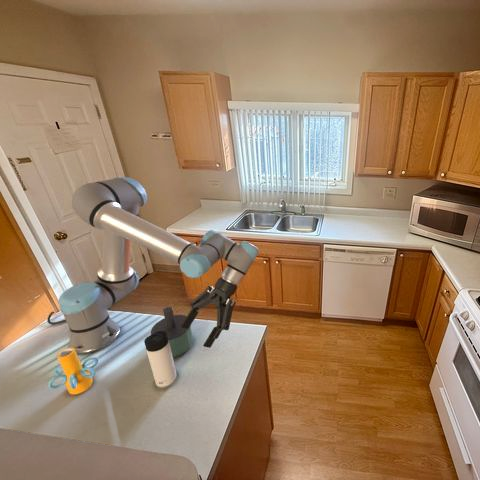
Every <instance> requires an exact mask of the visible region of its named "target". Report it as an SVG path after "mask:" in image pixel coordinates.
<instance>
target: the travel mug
mask: <svg viewBox="0 0 480 480" xmlns="http://www.w3.org/2000/svg"><path fill="white" fill-rule="evenodd" d="M143 343H144V346H145V350H146V354H147V357H148V361H149V365H150V368H151V372H152V375H153V376H152V377H153V379H154V382H155V385H156V387H157V388H159V389H162V388H163V389H164V388H168V387H170V386H171V385H173V384H174V383H175V382H176V380H177V377H178V374H177V369H176V366H175V361H174V357H173V356H172V352H171V348H170V344H169V340H168V336H167V333H166V332H165V331H158V332H155V333H154V334H151V333H150V335H148V336H146V338H145V339H144V340H143Z"/></svg>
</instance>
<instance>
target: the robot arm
mask: <svg viewBox="0 0 480 480" xmlns="http://www.w3.org/2000/svg"><path fill="white" fill-rule="evenodd" d="M147 201H148V195H147V192H146V190H145V188H144V187H143V185H142V184H141V183H140V182H138V181H137V180H136V179H134V178H131V177H127V176H123V177H114V178H111V179H105V180H99V181H95V182H88V183H85V184H82V185H81V186H79V187H78V188H77V189H75V191H74V192H73V194H72V197H71V206H72V209H73V211H74V213H75V214H76V215H77V217H78V218H80V219H81V221H83V222H85V223H86V224H88V225H89V226H91V227H93V228H95V229H97V230H101V231H103V233H102V235H103V236H102V237H103V238H102V239H103V240H102V241H103V242H102V266H101V267H100V268H99V269H98V270H97V274H96V275H97V279H96V280H95V281H84V282H81V283H79V284H75V285H73V286H71V287H69V288H67V289H66V290H64V291H63V292H61V295H60V296H59V298H58V304H59V310H60V312H61V313H62V315H63V317H64V319H63V320H60V321H55V322H52V321H51V317H52V315H53V314H55V311H51V312H50V313H49V315H48V316H47V323H48V324H49V325H59V324H62V323H65V322H66V324H67V326H68V328H69V331H70V334H69V343H68V344H69V348H74V349H75V351H76V353H77V355H87V354H91V353H95V352H98V351H101V350H103V349H105V348H106V347H109V346H110V345H111V344H112V343H114V342H115V341H116V340H117V339H118V338H119V337H120V335H121V329H120V326H119V325H118V323H117V322H116V321H115V320H114V319H112V317H110V314H109V311H108V309H109V308H111V307H112V306H114V305H115V304H117V303H118V302H119V301H121V300H122V299H124V298H125V297H126V296H128V295H130V294H131V293H133V292H134V291H135V290H136V289H137V288H138V286H139V284H140V277H139V274H137V272H136V270H135V269H134V268H132V266H131V265H130V264H131V249H132V242H133V243H134V244H136V245H139V246H140V247H143V248H145V249H147V250H149V251H152V252H154V253H156V254H158V255H160V256H162V257H164V258H166V259H168V260H170V261H172V262H175V263H177V264H179V269H180V271H181V272H182V273H183V274H184V276H186V277H188V278H191V279H197V278H200V277H201V276H203V275H205V274H206V273H207V272H209V270H210V269H211V268H212V267H213V266H214V265H215V264H216V263H217V262H218V261H219V260H221V259H222V260H224V261H226V262H228V263H227V264H226V265H225V268H224V269H223V271H222V272H221V274H220V277H218V279H217V280H216V282H215V283H214V286H211V285H208V286H207V287H206V288H205V289H204V290H203V291H202V292H201V293H200V294H199V295H197V297H195V298H194V299H193V300H191V301H190V302H189V306H190V308H191V309H190V310H189V312H188V314H187V315H186V316H187V318H186V320H185V321H184V323H183V324H182V326H181V327H182V328H187V329H189V327H190V325H191V326H192V324H193V322H194V321H195V319H196V318H197V316H198V315H199V313H200V310H201V309H203V308H205V307H207V306H209V305H210V304H213V305H214V306H215V307H216V309H217V311H216V326H213V328H212V329H211V331H210V333H209V335H208V337H207V339H206V340H205V342H204V343H203V345H202V346H203V347H204V348H210V349H211V347H212V346H213V344H214V343H215V341H216V340H218V338H219V337H220V335H221V334H222V331H229V330H230V325H231V322H232V321H231V320H232V317H233V316H232V315H233V311H234V307H235V305H236V304H237V302H236V300H234V299H231V297H232V296H234V295H235V294H236V292H237V290H238V288H239V287H238V286H239V285H241V283H242V282H243V280H244V278H245V276H246V275H247V273H248V272H249V270H250V269H251V267H252V265H253V263H254V262H255V260H256V258H257V257H258V255H259V252H260V250H259V248H258V247H257V246H256V245H254V244H252V243H250V242H248V241H246V240H242V241H241V242H240V243H239V242H236V241H234V240H233V239H231V238H229V237H227V236H226V235H224V234H222V233H220V232H218V231H216V230H213V229H210V230H208V231H207V232H206V233H205V234H204V235H203V236H202V237H201V240H200V243H199V244H200V245H199V246H198V245H196V244H195V243H192V242H190V241H188V240H186V239H184V238H182V237H179V236H178V235H176V234H174V233H172V232H170V231H168V230H166V229H164V228H162V227H160V226H157V224H153V223H152V222H150V221H147V220H145V219H143V218H141V217H139V214H140V213H139V211H140V208H141V207H144V205H145V204H146V203H147Z"/></svg>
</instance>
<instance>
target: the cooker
mask: <svg viewBox="0 0 480 480" xmlns="http://www.w3.org/2000/svg"><path fill="white" fill-rule="evenodd" d="M191 326H192V325H191ZM191 326H190V328H189V329H188V331H187V332H186V333H184V334H183V335H181V336H180V337H177V338H175V339H172V340H169V344H170V348H171V352H172V356H173V358H177V357H179V356H181V355H183V354H185V353H186V352H188V351H189V350H190V349H191V347H192V346H193V344H194V337H193V336H194V335H193V330H192V327H191Z"/></svg>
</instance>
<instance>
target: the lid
mask: <svg viewBox="0 0 480 480" xmlns="http://www.w3.org/2000/svg"><path fill="white" fill-rule="evenodd" d="M162 313H163V317H164V318H162V319H160V320H159V321H157V322H156V323H155V324H154V325H153V326H152V327H151V330H150V335H151V334H154V333H155V332H158V331H165V332H166V333H167V336H168V340H172V339H175V338H177V337H180V336H181V335H183V334H184V333H186V332H187V331H188V329H187V328H182V327H181V326H182V324H183V323H184V321H185V320H186V318H187V315H185V314H174V310H173V307H171V306H167V307H165V308H163V309H162ZM190 326H192V324H191V325H190ZM189 328H190V327H189Z"/></svg>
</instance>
